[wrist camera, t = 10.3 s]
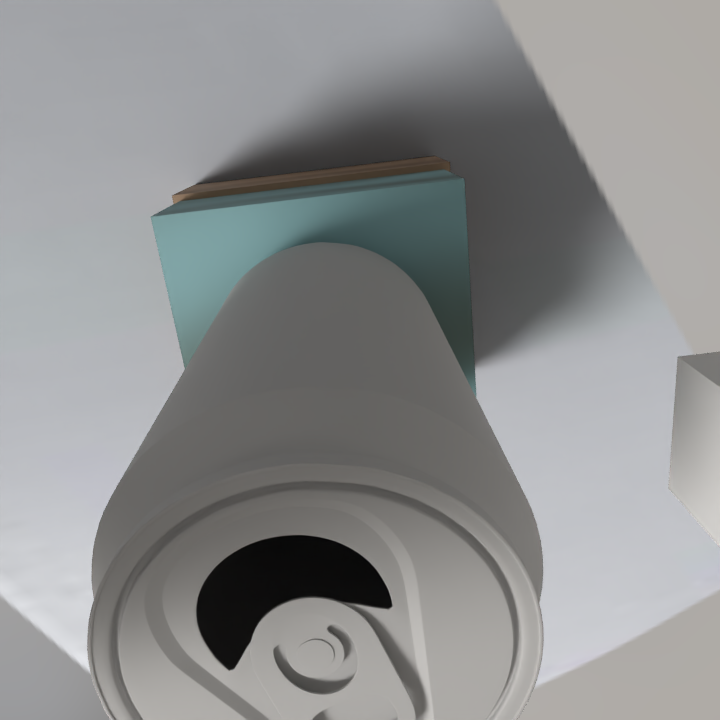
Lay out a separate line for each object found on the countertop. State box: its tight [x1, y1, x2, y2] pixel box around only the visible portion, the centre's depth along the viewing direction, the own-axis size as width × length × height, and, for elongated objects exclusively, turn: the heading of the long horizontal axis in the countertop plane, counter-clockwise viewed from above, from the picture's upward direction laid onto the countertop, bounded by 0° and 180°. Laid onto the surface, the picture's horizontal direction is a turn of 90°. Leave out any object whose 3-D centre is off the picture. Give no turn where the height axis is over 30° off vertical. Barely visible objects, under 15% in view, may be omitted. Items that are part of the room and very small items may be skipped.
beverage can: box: [87, 242, 544, 720], centre depth 14 cm, size 6×6×12 cm
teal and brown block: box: [151, 156, 476, 397], centre depth 22 cm, size 9×9×7 cm
